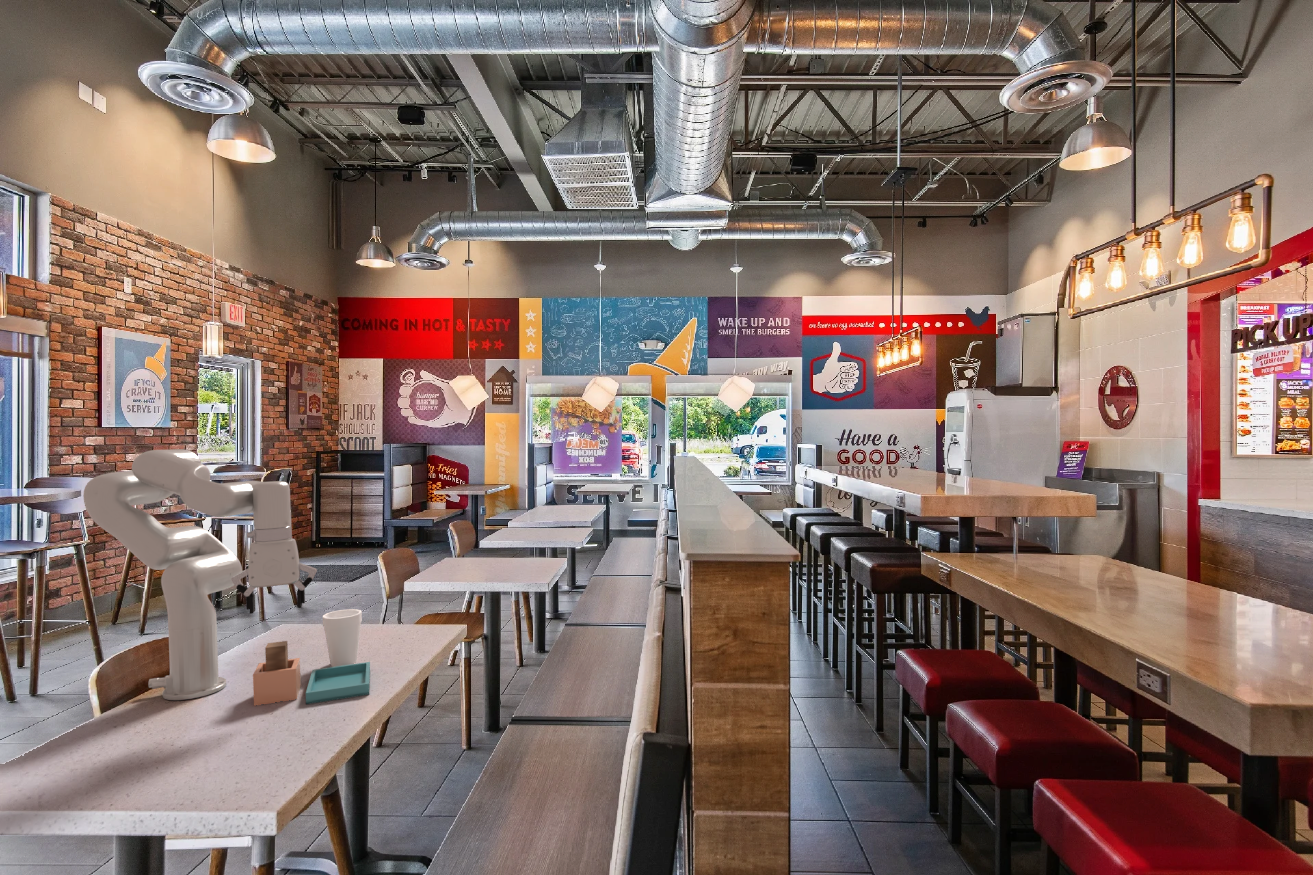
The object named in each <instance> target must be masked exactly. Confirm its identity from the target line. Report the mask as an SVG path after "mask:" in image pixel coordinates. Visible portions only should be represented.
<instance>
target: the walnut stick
mask: <svg viewBox="0 0 1313 875" xmlns="http://www.w3.org/2000/svg"><path fill="white" fill-rule="evenodd" d="M288 644H289V643H288V640H282V641H275V642H268V643H267V644H266V646H265V651H264V652H265V653H264V654H265V662H266V671H273V670H281V669H288V659H289V652H288V646H289V645H288Z"/></svg>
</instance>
